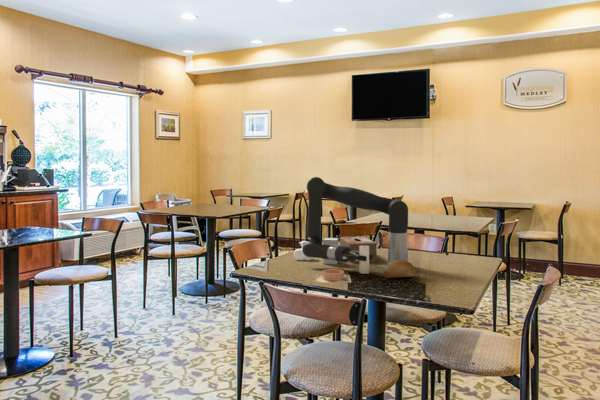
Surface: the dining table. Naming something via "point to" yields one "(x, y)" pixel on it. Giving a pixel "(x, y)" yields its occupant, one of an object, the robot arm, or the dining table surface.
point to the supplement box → (330, 242)
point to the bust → (301, 253)
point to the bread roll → (399, 269)
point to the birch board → (320, 280)
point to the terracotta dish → (333, 275)
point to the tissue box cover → (360, 241)
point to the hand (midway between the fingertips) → (369, 257)
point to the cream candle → (364, 264)
